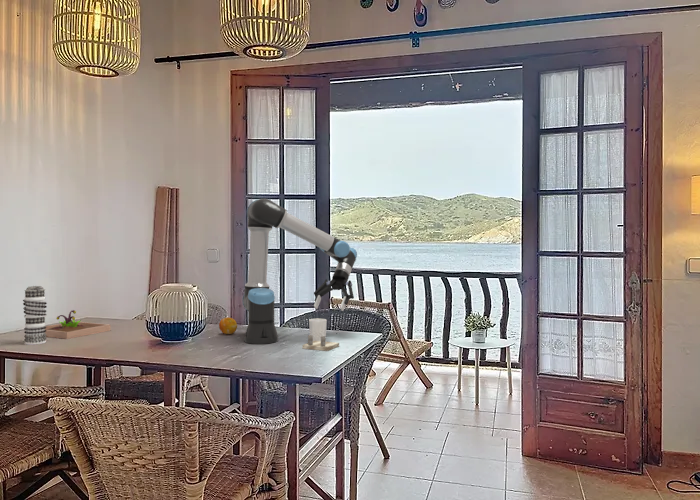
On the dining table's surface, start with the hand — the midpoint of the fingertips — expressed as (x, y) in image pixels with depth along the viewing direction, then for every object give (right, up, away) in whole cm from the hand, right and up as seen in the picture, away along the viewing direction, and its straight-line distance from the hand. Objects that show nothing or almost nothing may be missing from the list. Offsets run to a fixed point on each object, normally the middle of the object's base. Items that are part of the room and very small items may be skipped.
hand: (328, 308), depth 260 cm
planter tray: (-127, -13, +14) cm, 128 cm away
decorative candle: (-130, -14, -12) cm, 131 cm away
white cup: (-4, -14, -9) cm, 17 cm away
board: (-2, -14, -21) cm, 26 cm away
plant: (-127, -14, +15) cm, 129 cm away
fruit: (-49, -14, +11) cm, 52 cm away
